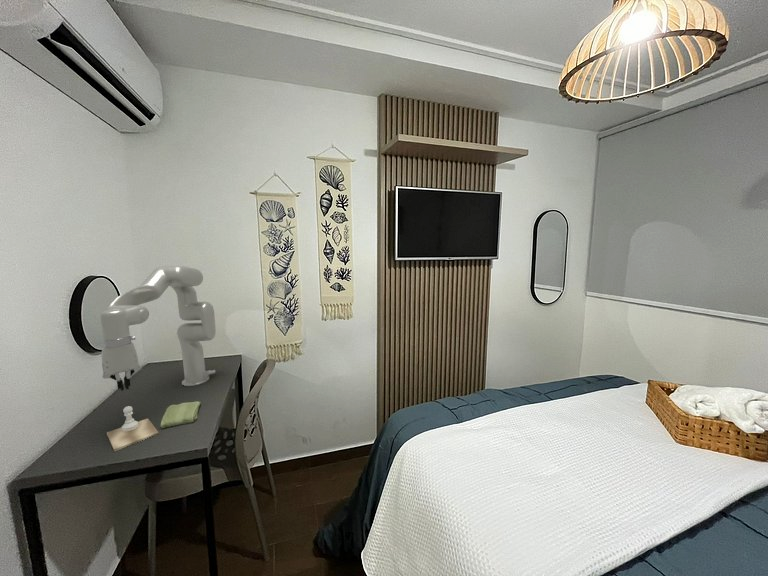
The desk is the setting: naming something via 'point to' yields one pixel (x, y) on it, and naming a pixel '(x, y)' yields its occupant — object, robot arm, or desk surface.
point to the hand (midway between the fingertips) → (124, 388)
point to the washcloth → (180, 414)
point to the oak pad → (131, 435)
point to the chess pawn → (129, 420)
